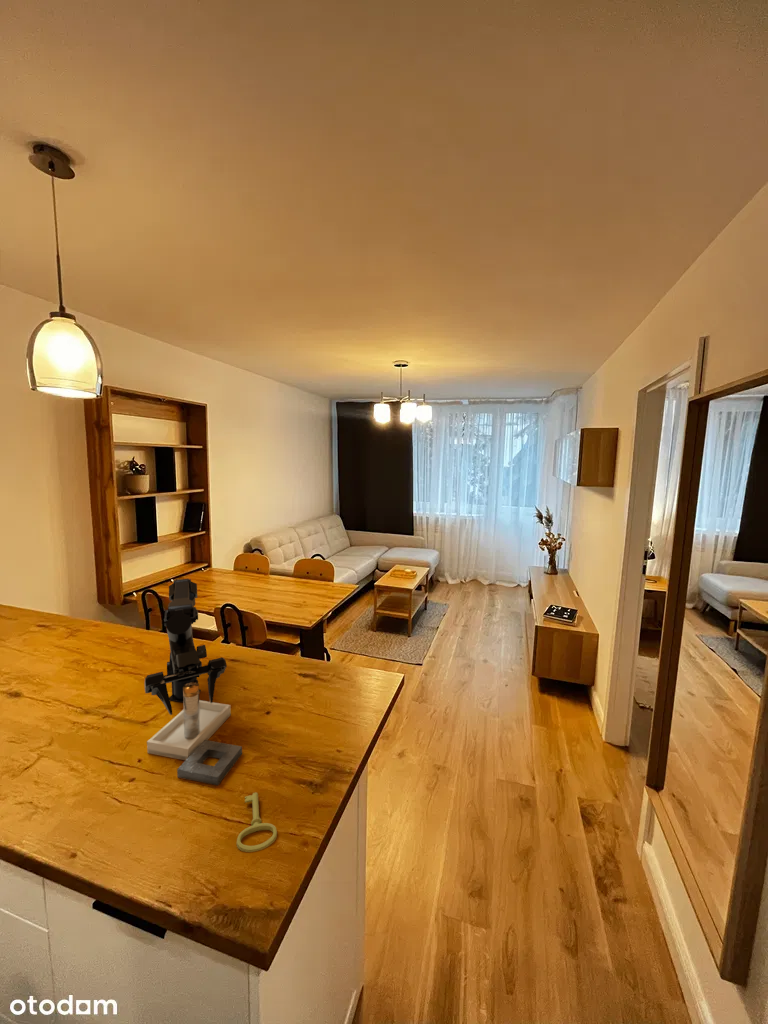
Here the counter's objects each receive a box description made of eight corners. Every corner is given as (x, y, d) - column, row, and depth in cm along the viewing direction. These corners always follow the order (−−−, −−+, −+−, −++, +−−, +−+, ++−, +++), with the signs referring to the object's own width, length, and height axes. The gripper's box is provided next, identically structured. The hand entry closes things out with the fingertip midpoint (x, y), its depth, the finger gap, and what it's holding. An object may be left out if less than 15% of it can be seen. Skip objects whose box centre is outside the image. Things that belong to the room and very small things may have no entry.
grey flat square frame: (177, 777, 94) (177, 769, 94) (205, 747, 104) (204, 739, 103) (218, 785, 92) (217, 777, 92) (242, 754, 102) (242, 746, 101)
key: (256, 798, 89) (256, 789, 89) (280, 841, 80) (280, 831, 80) (222, 815, 85) (221, 805, 85) (243, 862, 75) (242, 852, 75)
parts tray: (147, 753, 101) (146, 741, 101) (195, 709, 119) (194, 699, 118) (188, 760, 99) (187, 749, 99) (230, 715, 116) (230, 705, 116)
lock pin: (181, 738, 105) (179, 688, 104) (190, 729, 109) (189, 681, 107) (193, 740, 104) (192, 690, 103) (202, 731, 108) (202, 683, 107)
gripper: (143, 644, 101) (150, 711, 94) (224, 628, 111) (236, 686, 104) (141, 661, 109) (148, 724, 101) (217, 645, 119) (228, 700, 112)
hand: (191, 708), depth 104 cm, fingers open, 9 cm apart
